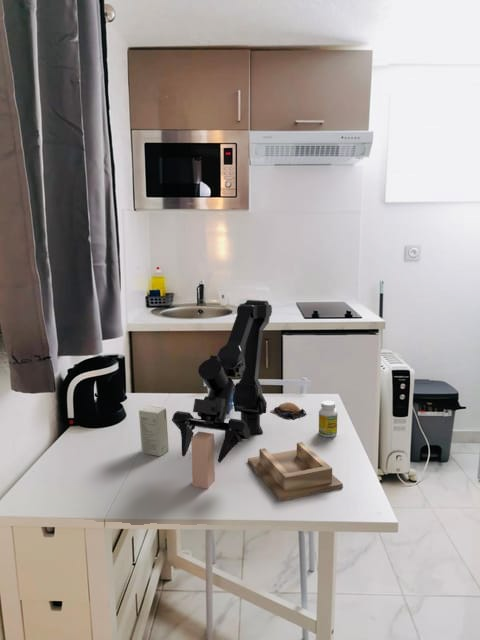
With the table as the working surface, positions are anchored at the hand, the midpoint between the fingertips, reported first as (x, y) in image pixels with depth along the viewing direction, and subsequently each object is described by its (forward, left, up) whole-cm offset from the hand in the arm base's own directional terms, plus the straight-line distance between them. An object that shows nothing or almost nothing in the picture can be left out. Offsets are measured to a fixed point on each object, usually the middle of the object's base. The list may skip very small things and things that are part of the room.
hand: (200, 459), depth 116 cm
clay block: (-1, +1, -7) cm, 7 cm away
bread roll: (-42, +31, -7) cm, 53 cm away
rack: (-2, +23, -7) cm, 24 cm away
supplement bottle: (-24, +39, -7) cm, 46 cm away
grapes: (-46, +13, -7) cm, 48 cm away
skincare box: (-20, -11, -7) cm, 24 cm away
